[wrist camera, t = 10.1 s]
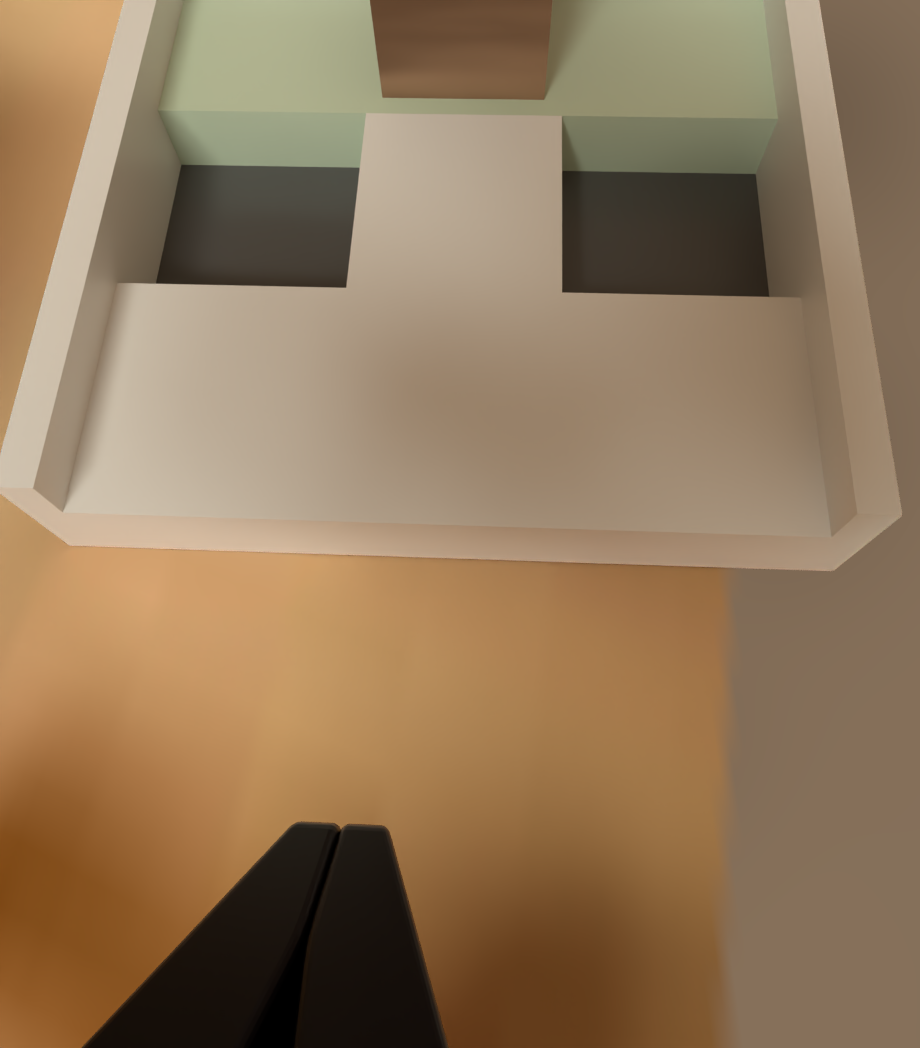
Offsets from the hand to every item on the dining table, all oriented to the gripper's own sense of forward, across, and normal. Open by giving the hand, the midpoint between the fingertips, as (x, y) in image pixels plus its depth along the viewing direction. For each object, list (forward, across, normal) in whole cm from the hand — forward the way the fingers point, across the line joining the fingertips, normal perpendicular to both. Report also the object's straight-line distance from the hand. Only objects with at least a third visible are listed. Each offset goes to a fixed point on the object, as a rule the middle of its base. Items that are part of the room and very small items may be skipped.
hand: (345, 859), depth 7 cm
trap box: (+22, 0, -3) cm, 23 cm away
